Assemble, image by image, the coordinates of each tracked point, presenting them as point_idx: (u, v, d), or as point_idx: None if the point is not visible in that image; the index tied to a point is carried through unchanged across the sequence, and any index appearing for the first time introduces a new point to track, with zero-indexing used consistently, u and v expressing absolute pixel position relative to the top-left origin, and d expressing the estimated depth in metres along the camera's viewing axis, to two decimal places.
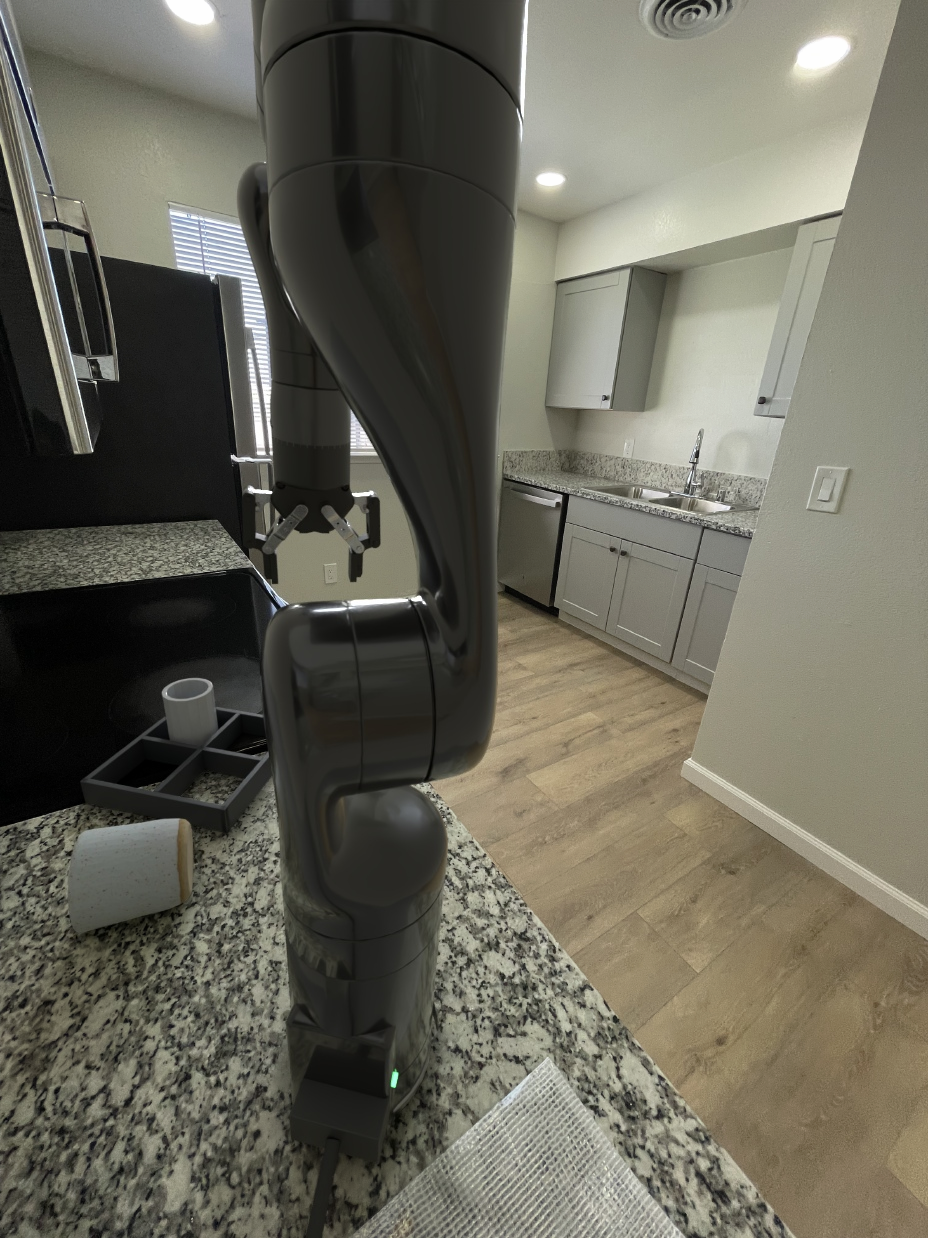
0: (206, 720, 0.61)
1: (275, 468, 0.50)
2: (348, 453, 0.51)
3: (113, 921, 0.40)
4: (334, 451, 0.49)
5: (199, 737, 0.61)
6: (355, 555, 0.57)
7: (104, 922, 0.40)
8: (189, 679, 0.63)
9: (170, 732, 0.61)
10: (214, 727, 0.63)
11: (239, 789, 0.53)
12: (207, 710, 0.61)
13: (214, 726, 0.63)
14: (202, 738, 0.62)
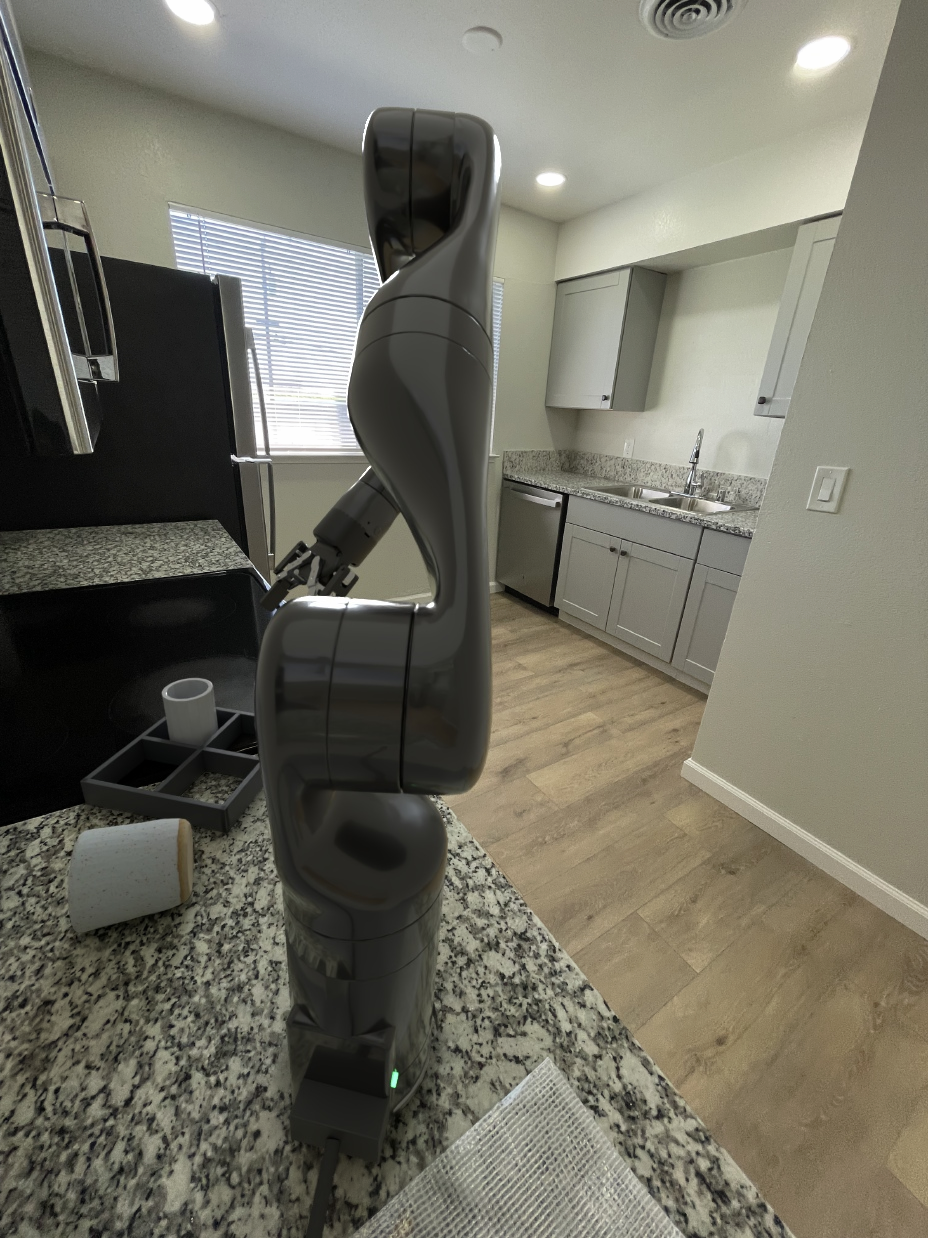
0: (206, 720, 0.61)
1: None
2: (354, 530, 0.65)
3: (113, 921, 0.40)
4: (342, 516, 0.65)
5: (199, 737, 0.61)
6: None
7: (104, 922, 0.40)
8: (189, 679, 0.63)
9: (170, 732, 0.61)
10: (214, 727, 0.63)
11: (239, 789, 0.53)
12: (207, 710, 0.61)
13: (214, 726, 0.63)
14: (202, 738, 0.62)
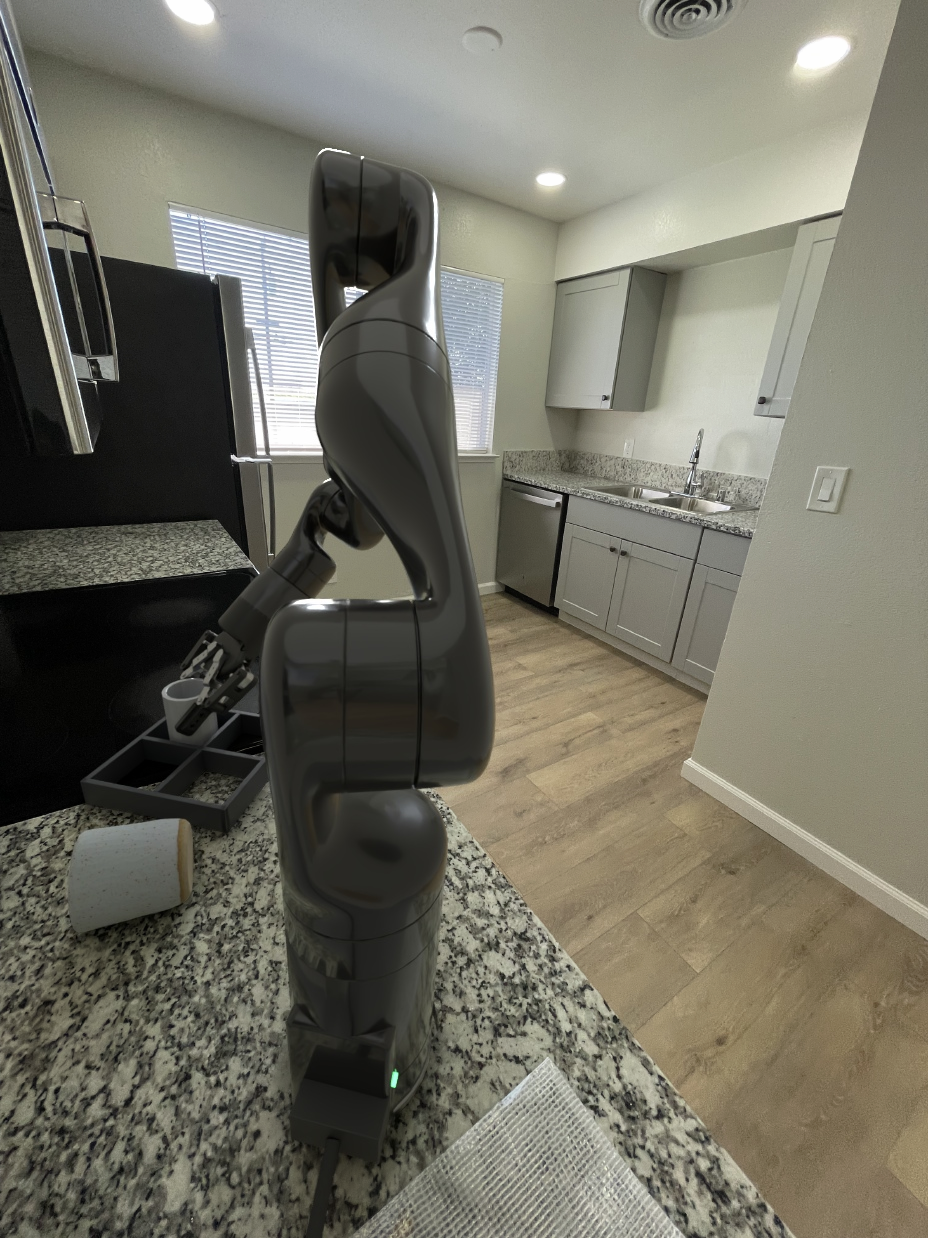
0: (205, 720, 0.61)
1: None
2: (260, 622, 0.61)
3: (113, 921, 0.40)
4: (247, 607, 0.61)
5: (199, 737, 0.61)
6: (194, 705, 0.59)
7: (104, 922, 0.40)
8: (189, 679, 0.63)
9: (170, 732, 0.61)
10: (214, 727, 0.63)
11: (239, 789, 0.53)
12: None
13: (214, 726, 0.63)
14: (202, 738, 0.62)
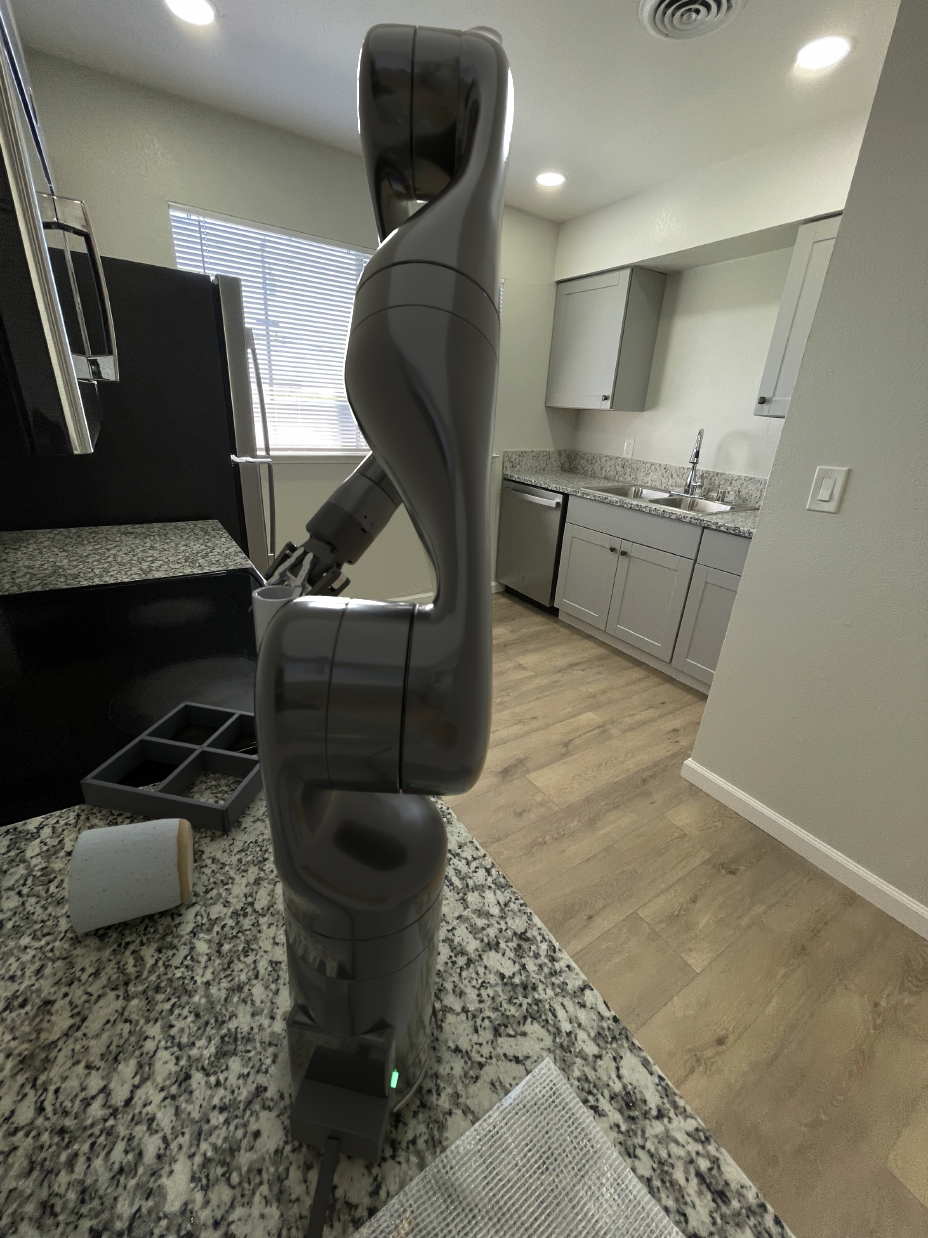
0: None
1: None
2: (350, 524, 0.60)
3: (113, 921, 0.40)
4: (337, 509, 0.60)
5: None
6: None
7: (104, 922, 0.40)
8: (275, 586, 0.63)
9: (260, 636, 0.60)
10: None
11: (239, 789, 0.53)
12: None
13: None
14: None
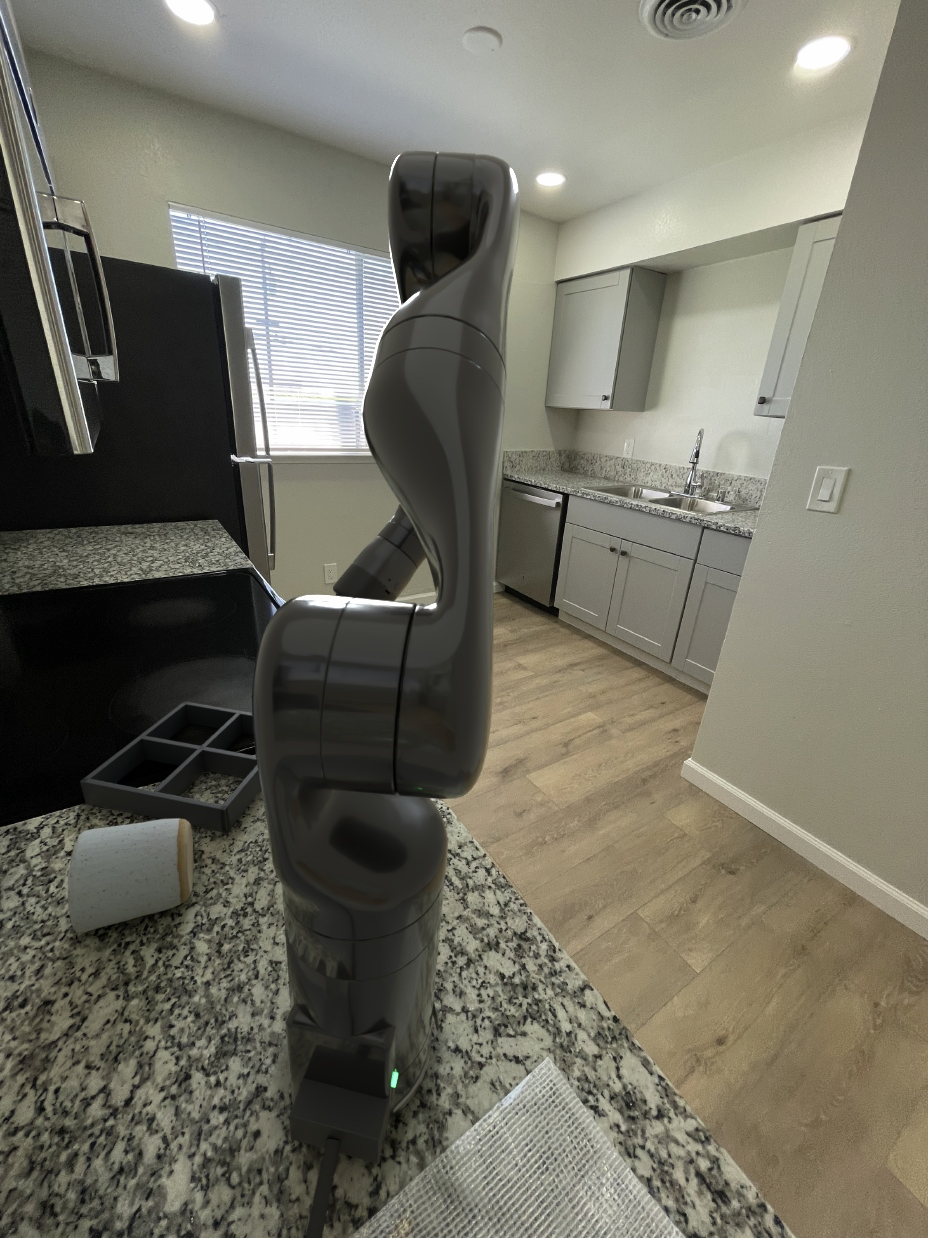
0: None
1: None
2: (375, 587, 0.64)
3: (113, 921, 0.40)
4: (363, 573, 0.64)
5: None
6: None
7: (104, 922, 0.40)
8: None
9: None
10: None
11: (239, 789, 0.53)
12: None
13: None
14: None
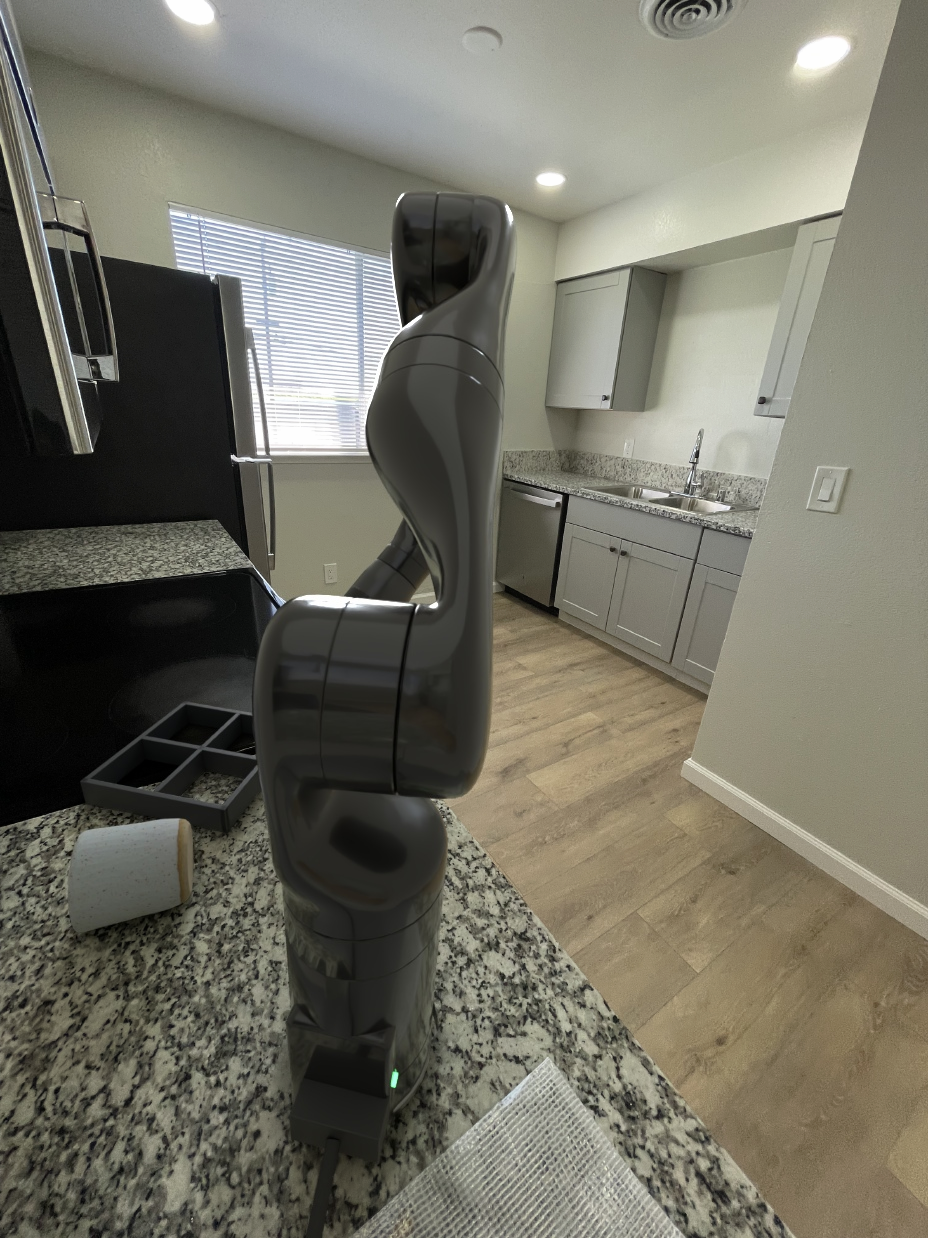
0: None
1: None
2: None
3: (113, 921, 0.40)
4: (363, 597, 0.66)
5: None
6: None
7: (104, 922, 0.40)
8: None
9: None
10: None
11: (239, 789, 0.53)
12: None
13: None
14: None
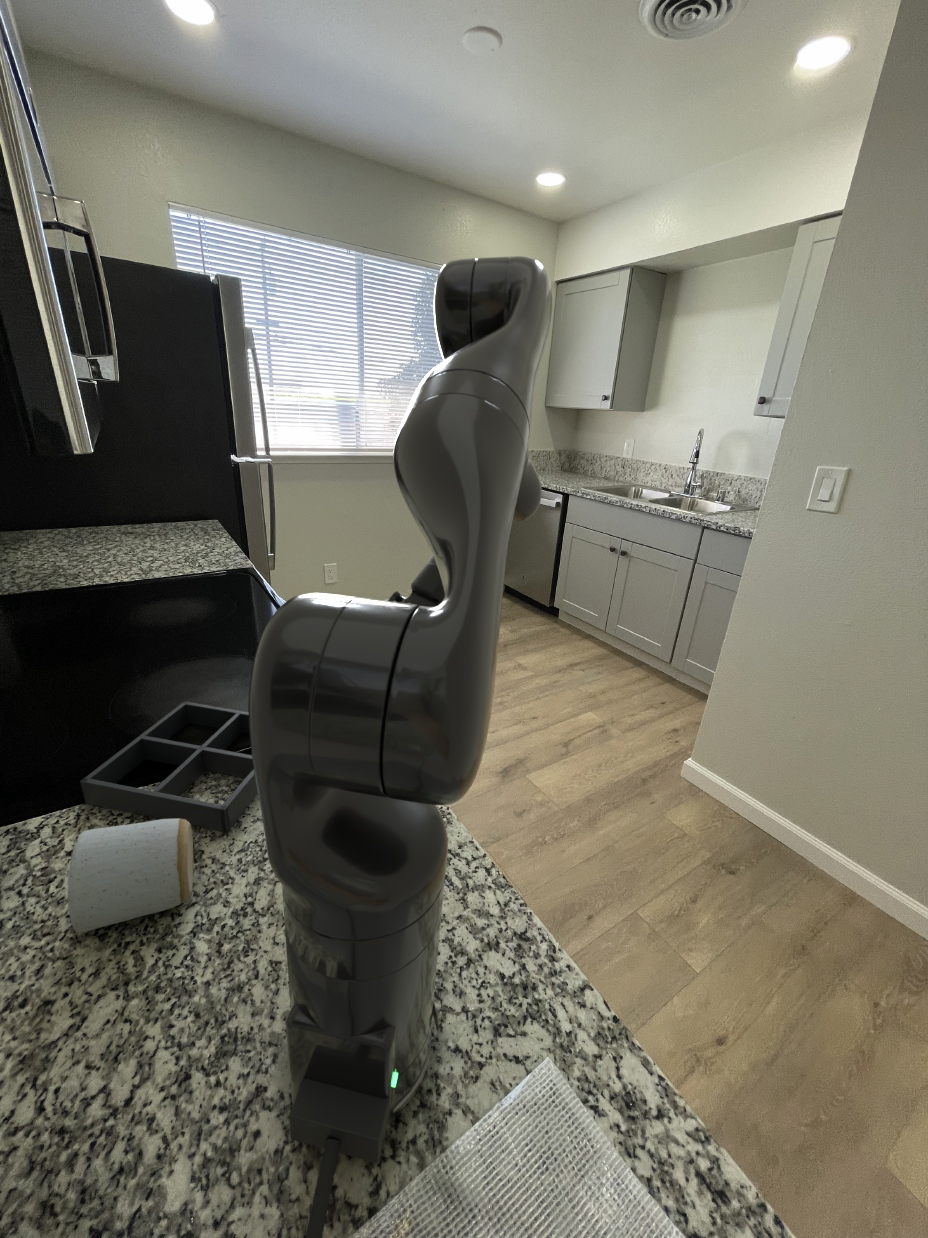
0: None
1: None
2: None
3: (113, 921, 0.40)
4: None
5: None
6: None
7: (104, 922, 0.40)
8: None
9: None
10: None
11: (239, 789, 0.53)
12: None
13: None
14: None
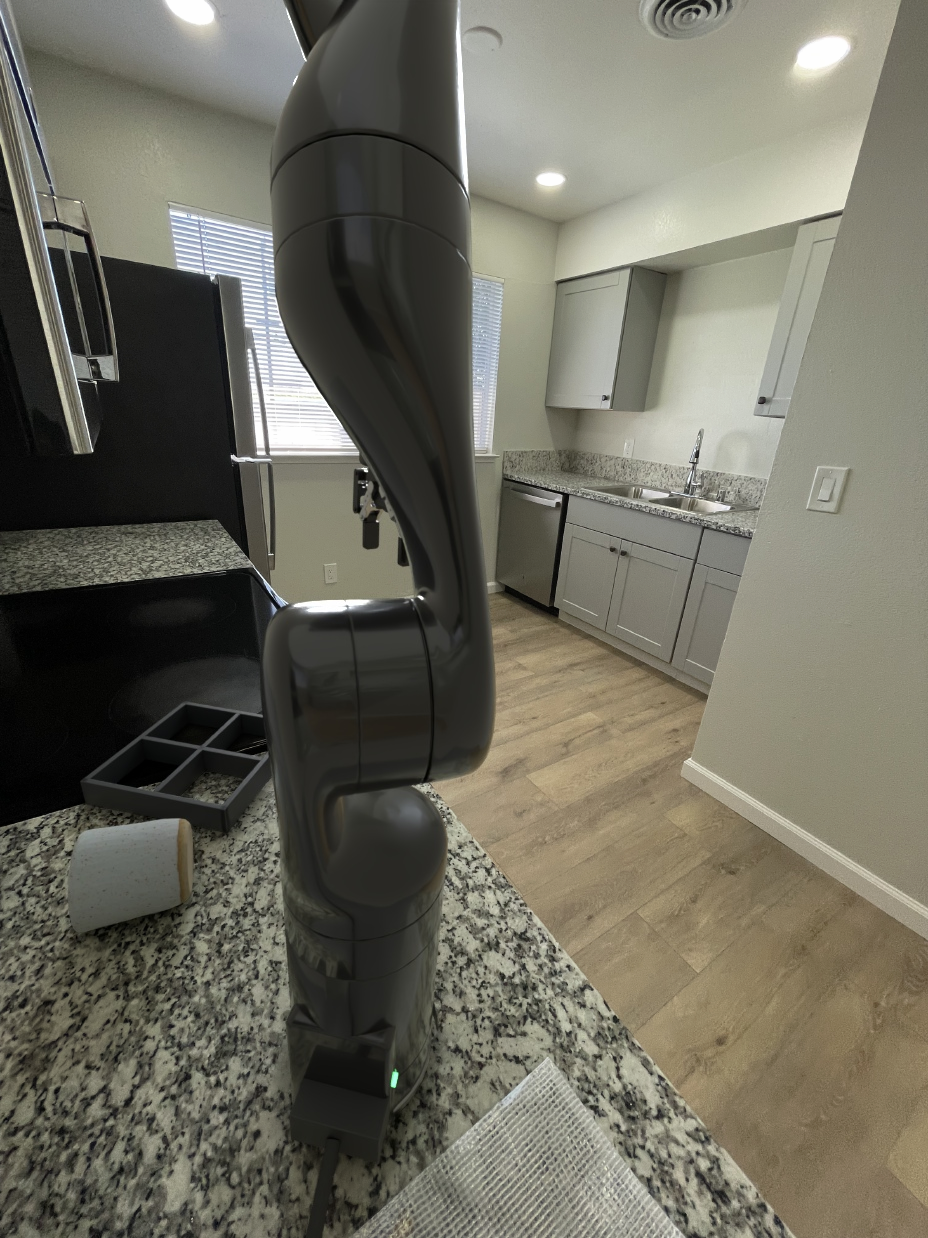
0: None
1: None
2: None
3: (113, 921, 0.40)
4: None
5: None
6: (400, 538, 0.62)
7: (104, 922, 0.40)
8: None
9: None
10: None
11: (239, 789, 0.53)
12: None
13: None
14: None
